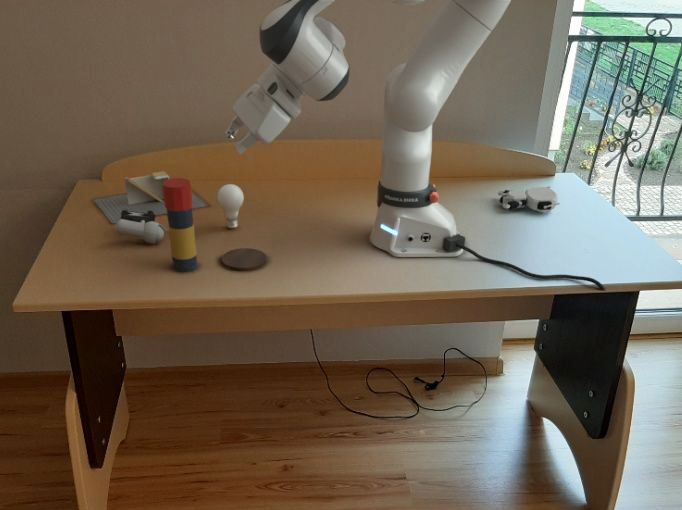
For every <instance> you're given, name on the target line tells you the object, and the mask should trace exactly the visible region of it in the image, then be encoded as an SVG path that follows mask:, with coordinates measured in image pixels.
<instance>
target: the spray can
mask: <svg viewBox="0 0 682 510" xmlns="http://www.w3.org/2000/svg"><path fill="white" fill-rule="evenodd" d="M166 216H167V227H168V231H169V233H168V234H169V235H168V237H169V244H170V252H171V253H170V254H171V259H172V267H173V268H172V269H173V270H174V271H176V272H179V273H189V272H192V271H195V270H196V269H197V268H198V257H197V246H196V233H195V223H194V215H193V209H192V207H191V209H188V210H185V211H170V210H167V214H166Z"/></svg>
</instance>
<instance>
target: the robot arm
mask: <svg viewBox="0 0 682 510" xmlns="http://www.w3.org/2000/svg"><path fill="white" fill-rule="evenodd" d="M335 1H336V0H287V1H285V2H284V3H283V4H281V5H280V6H278V7H277V8H275V9H274V10H272V11H271V12H269V14H268V15H266V17H265V18H264V19H263V21H262V23H261V24H260V26H259V31H258V33H259V36H258V37H259V44H260V50H261V53H263V54H264V55H265V56H266V57H267V58H269V59H270V61H272V62H271V63H270V64H269V65H268V66H267V67H266V69H265V70H264V71H263V73H262V74H260V76H259V77H258V78H257V79H256V81H255V82H256V83H254V84H252V85H251V86H249V87H248V89H246V90H245V92H243V94H241V96H240V97H239V98H238V99H237V100H236V101H235V103H234V104H233V106H232V111H233V113H234V114H235V115H234V116H233V117H232V119H231V122H230V123H229V125H228V127H227V129H226V130H225V131H224V136H225V137H226V138H227V139H228V140H231V141H232V140H234V139H235V137H236V136H237V133H238V131H239V130H240V128H241V127H243V126H245V127H246V128H247V129H248V131H247V133H246V134H245V136H244V137H243V138H241V140H238V141H237V142H236V144H235V145H234V146H233V147H234V150H235V151H236V152H237V153H238V154H240V155H243V154H244V153H245V152H246V151H247V150H248V149H249V148H251V147H252V146H255V145H256V144H257V142H260V143H261V144H262V145H264V146H266V145H268V144H270V143H271V142H273V141H274V140H275V139H276V138H277V137H278V136H279V135H280V134H281V133H282V132H283V131H284V130H285V129H286V128H287V126H288V125H289V124H290V122H291V120H296V119H297V118H298V117H299V116H300V115H301V113H302V107H301V106H302V105H301V104H302V100H303V98H304V97H305V96H306V94H307V96H309V97H310V98H312V99H313V100H315V101H316V102H328V101H332V100H334V99H336V97H338V95H340V93H342V91H343V90H344V89H345V87H346V86H347V85H348V83H349V79H350V72H351V71H350V64H349V62H348V60H347V58H346V56H345V54H344V49H345V47H346V42H347V41H346V38H345V36H344V34H343V32H342V31H341V30H340V29H339V27H337V26H336V24H334V23H333V22H332V21H331V20H330V19H328V18H325V17H323V16H317V15H318V14H320V13H321V12H322V11H324V10H325V9H327V7H329V6H330V5H331V4H333V3H335ZM388 1H389V2H391V3H393V4H397V5H399V6H406V7H410V6H417V5H420V4H422V3H424V2H425V1H426V0H388ZM511 2H512V0H445V1H444V2H443V4H442V5H441V6H440V8H439V10H438V11H437V12H436V14H435V15H434V16H433V18H432V19H431V21H430V23H429V25H428V26H427V27H426V28H425V30H424V31H423V33H422V36H421V38H420V40H419V41H418V44H417V45H416V47H415V48H414V51H413V52H412V55H411V56H410V57H409V59H408V61H407V62H404V63H401V64H399V65H397V66H396V67H394V69H392V71H391V72H390V73H389V74H388V76H387V78H386V80H385V83H384V96H383V97H384V98H383V119H382V120H383V121H382V143H381V144H382V147H381V161H380V162H381V163H380V179H379V180H378V184H377V188H376V189H377V190H376V206H377V209H376V215H375V219H374V224H373V227H372V231H371V233H370V235H369V241H370V242H371V244H372V245H373V246H375V247H376V248H378V249H381V250H383V251H386V252H388V253H389V254H390V256H393V257H395V258H427V257H428V258H430V257H431V258H445V257H446V258H447V257H448V258H450V257H455V258H456V257H458V256H460V255H461V254H463V252H464V251H465V252H467V253H469V254H471V255H473V256H474V257H475V258H477V259H479V260H481V261H483V262H486V263H491V264H495V265H500V266H503V267H507V268H510V269H512V270H515V271H517V272H518V273H520V274H523V275H525V276H526V277H530V278H534V279H541V280H552V279H554V280H555V279H568V280H576V281H585V282H589V283H592V284H594V285H596V286H597V287H598V288H599V289H600V290H601V291H603V292H606V288H605V286H604V285H603V284H602V283H601V282H600V281H598V280H597V279H595V278H592V277H590V276H589V277H588V276H581V275H573V274H572V275H571V274H545V275H544V274H537V273H532V272H530V271H527V270H525V269H523V268H521V267H519V266H516V265H515V264H512V263H510V262H505V261H502V260H496V259H493V258H492V259H491V258H488V257H485V256H484V255H483V256H482V255H480V254H479V253H478V252H476V250H475V251H474V250H473V249H471V248H469V247H467V246H465V244H466V243H465V242H466V237H465V236H463V234H462V233H461V232H460V231H459V230H457V224H456V220H455V217H454V215H453V213H451V212H450V211H449V210H448V209H447V208H446V207H444V206H443V205H442V204H441V203H439V193H438V189H437V187H436V185H435V184H434V183H433V185H432V184H431V183H430V172H431V163H432V152H433V124H434V123H435V121H436V119H437V117H438V115H439V113H440V111H441V110H442V108H443V106H444V104H445V103H446V102H447V100H448V98H449V97H450V95H451V93H452V92H453V90H454V88H455V87H456V85H457V83H458V82H459V80H460V78H461V76H462V74H463V72H464V70H465V69H466V68H467V66H468V65H469V63H470V62H471V60H472V59H473V57H474V56H475V55H476V54H477V52H478V50H479V49H480V48H481V46H482V45H483V44H484V43H485V41H486V40H487V38H488V37H489V36H490V34H491V33H492V32H493V30H494V29H495V28H496V26H497V25H498V23H499V21H500V20H501V19H502V17H503V16H504V14H505V12H506V11H507V9H508V7H509V5H510V4H511ZM316 16H317V17H316ZM585 383H586V384H585V388H584V394H588V393H589V391H590V390H589V389H590V386H591V381H587V382H585Z"/></svg>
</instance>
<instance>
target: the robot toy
mask: <svg viewBox="0 0 682 510" xmlns="http://www.w3.org/2000/svg"><path fill="white" fill-rule="evenodd" d="M497 195H498V196H500V197H499V202H500V203H501V204H502V208H504V209H506V210H517V209H522V208H524V207H525V206H527V207H528V209H531V210H533V211H537V212H539V213H546V212H548V211H552V210H555V208H556V207H557V206H559V205H560V204H561V202H558V201H559V200H558V199H559V196H558V194H557V193H556V192H555V191H554V190H553V189H552V186H550V185H549V186H536V187H535V186H534V187H533V186H532V187H529V188H527V189H526V190H525V191H523V190H509V189H504V191H503V190H499V191H498V192H497Z"/></svg>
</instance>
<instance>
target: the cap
mask: <svg viewBox="0 0 682 510" xmlns="http://www.w3.org/2000/svg"><path fill="white" fill-rule="evenodd" d="M191 191H192V185H191V180H189V179H187V178H183V177H174V178H170V179H168V180H166V181H164V182H163V193H164V202H165V207H166V209H167V210H170V211H185V210H188V209H191V207H192V206H193V203H192V192H193V191H192V192H191Z"/></svg>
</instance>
